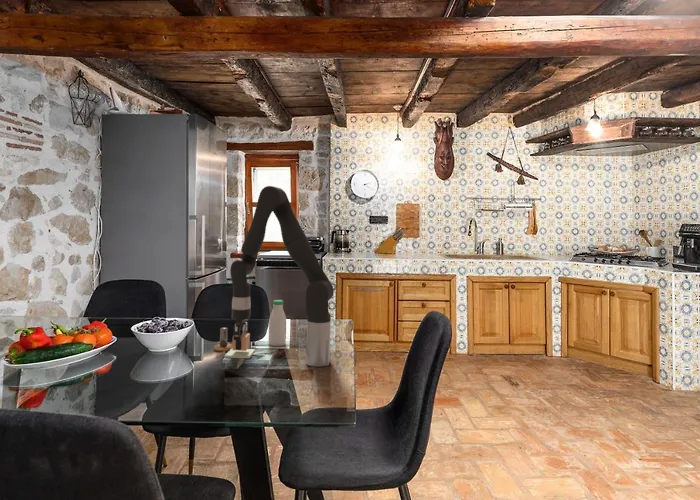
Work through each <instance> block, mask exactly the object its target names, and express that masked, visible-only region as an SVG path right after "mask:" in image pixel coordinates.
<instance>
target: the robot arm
mask: <svg viewBox="0 0 700 500" xmlns="http://www.w3.org/2000/svg"><path fill="white" fill-rule="evenodd" d="M272 214H274V215H275V217H276V219H277V222H278V223H279V224H278V225H279V226H280V232H281V233H280V234H281V237H282V242H283V244H284V245H283V246H285V250H286V251H287V253H288V254H289V256H290V258H291V259H292V260H293V263H295V264H296V265H297V266H298V267H299V268H300V269H301V271H303V272H302V273H304V274H305V276H306V279H307V280H308V283H309V284H308V285H307V287H306V290H305V315H306V316H307V317H306V318H307V319H306V321H307V322H306V349H305V363H306V365H307V366H310V367H315V368H316V367H319V368H320V367H329V365H330V359H331V358H330V356H331V354H330V353H331V318H332V317H331V316H332V315H331V312H329V301H330V300H331V299H332V298H333V296H334V292H335V291H334V286H333V284H332V282H331V281H330V279H329V277H328V276H327V275H326V273H325V271H324V270H323V268H322V267H321V264H320V263H319V260H318V258H317V256H316V254H315V252H314V250H313V247H312V245H311V243H310V241H309V239H308V237H307V235H306V233H305V232H304V230H303V227H302V226H301V224H300V222H299V221H298V219H297V217H296V215H295V214H294V211H293V208H292V206H291V202H290V200H289V197H288V195H287V193H286V192H285V190H284V189H282V188H281V187H277V186H274V185H267V186H264V187H263V188H262V189H261V191H260V192H259V196H258V199H257V203H256V206H255V209H254V214H253V218H252V221H251V224H250V226H249V229H248V231H247V233H246V236H245V238H244V240H243V243H242V245H241V249H240V250H241V252H242V254H241V257H240V259H236V260H234V261H233V262H232V263H231V265H230V271H229V274H230V280H231V282H232V300H231V319H232V320H235V324H234V326H233V327H232V328H233V329H232V330H233V334H232V335H233V336H234V340H235V341H236V350H240V349H241V340H242V335H243V334H244V333H249V332H248V330H249V329H248V328H249V319H250V318H251V309H252V308H251V305H252V304H251V301H252V300H251V284H250V282H248V279H247V278H248V277H247V276H249V275H250V274H251V273H252V272H253V271H254V269H255V266H256V263H257V262H256V261H257V259H258V255H259V252H260V250H261V247H262V245H263V243H264V240H265V237H266V230H267V225H268V221H269V218H270V217H271V215H272ZM237 335H238V337H237Z"/></svg>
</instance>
